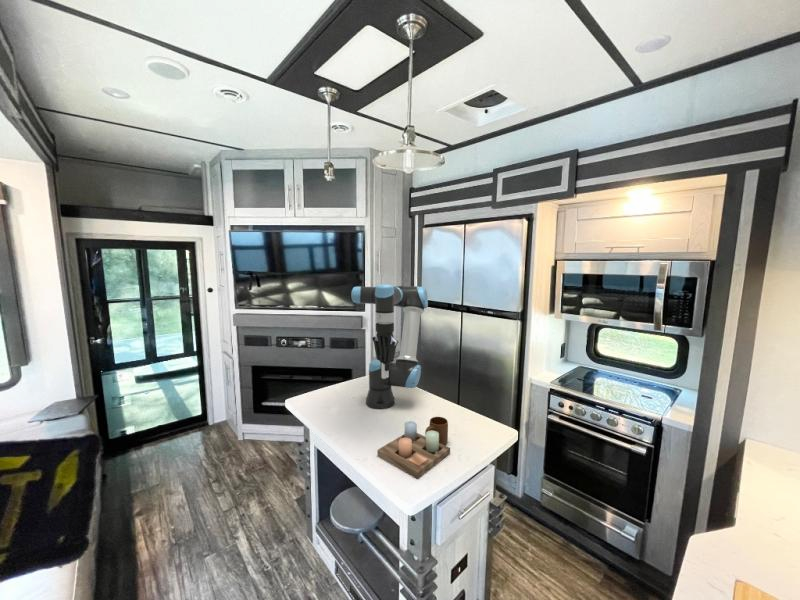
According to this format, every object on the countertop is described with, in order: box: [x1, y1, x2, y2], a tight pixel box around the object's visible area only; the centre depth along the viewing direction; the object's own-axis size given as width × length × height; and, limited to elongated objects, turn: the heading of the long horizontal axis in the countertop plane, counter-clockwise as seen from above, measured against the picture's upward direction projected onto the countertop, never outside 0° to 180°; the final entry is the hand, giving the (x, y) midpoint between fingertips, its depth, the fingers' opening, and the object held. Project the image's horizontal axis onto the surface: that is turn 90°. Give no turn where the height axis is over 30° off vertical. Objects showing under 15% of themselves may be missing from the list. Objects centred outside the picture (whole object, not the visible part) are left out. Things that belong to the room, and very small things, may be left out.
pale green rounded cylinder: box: [425, 430, 439, 453], centre depth 127 cm, size 5×5×6 cm
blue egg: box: [403, 420, 418, 442], centre depth 134 cm, size 5×5×6 cm
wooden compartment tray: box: [376, 432, 451, 480], centre depth 127 cm, size 20×20×3 cm
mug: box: [424, 416, 449, 446], centre depth 134 cm, size 12×8×9 cm, turn 136°
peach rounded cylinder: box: [399, 438, 413, 459], centre depth 124 cm, size 5×5×6 cm
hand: (385, 377), depth 137 cm, fingers closed
